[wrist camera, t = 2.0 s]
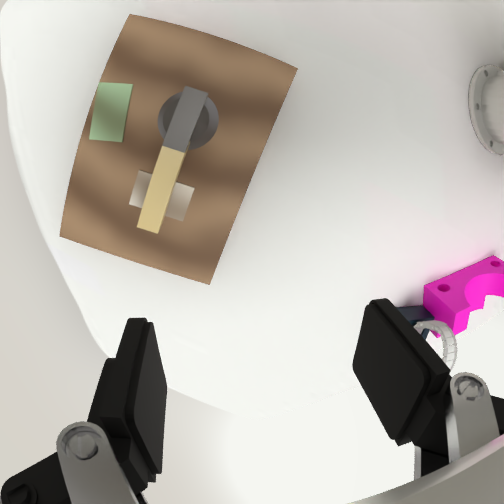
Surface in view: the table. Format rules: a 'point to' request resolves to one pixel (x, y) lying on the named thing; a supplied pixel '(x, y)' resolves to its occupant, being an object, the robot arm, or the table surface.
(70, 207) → the wooden lever switch board
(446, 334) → the watch
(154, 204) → the lever handle
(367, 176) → the table surface
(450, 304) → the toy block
